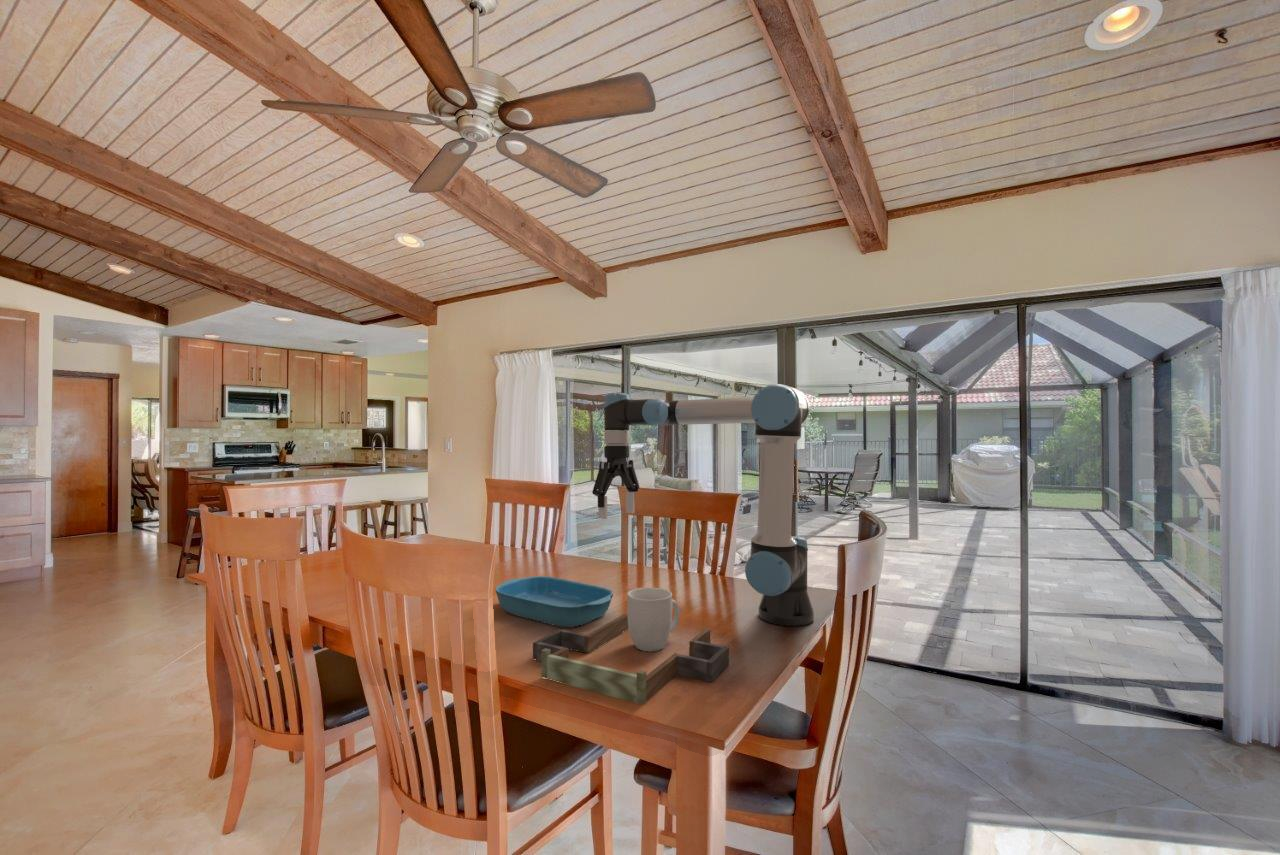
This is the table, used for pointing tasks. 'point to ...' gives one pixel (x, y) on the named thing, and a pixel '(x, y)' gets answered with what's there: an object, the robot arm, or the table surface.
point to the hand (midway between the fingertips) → (616, 515)
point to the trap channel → (619, 684)
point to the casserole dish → (554, 600)
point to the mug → (651, 617)
